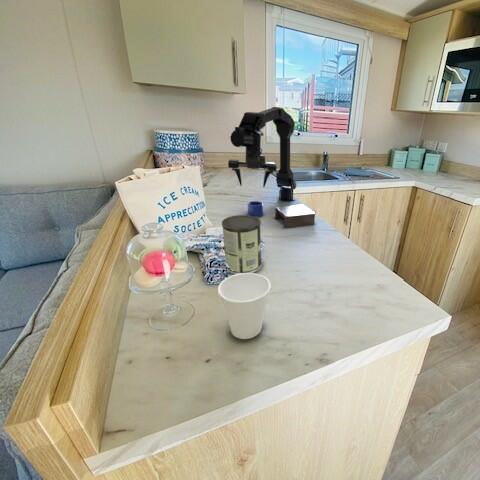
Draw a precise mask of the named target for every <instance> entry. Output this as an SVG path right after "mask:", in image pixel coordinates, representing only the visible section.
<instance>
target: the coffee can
mask: <svg viewBox="0 0 480 480" xmlns="http://www.w3.org/2000/svg"><path fill="white" fill-rule="evenodd" d="M261 224H262V221H261V219H260V218H259V217H253V216H249V215H248V214H246V215H245V214H243V215H242V214H240V215H239V214H238V215H232V216H229V217H225V218H224V219H223V220H222V221H221V226H222V236H223V248H224V259H225V260H224V261H225V264H226V263H227V264H228V266H229V267H230V269H232V270H233V271H232V270H230V269H228V268H227V269H226V271H227V272H228V273H230V274H233V275H235V274H240V273H256V272H258V271H259V270H260V269H261V268H262V243H261V241H262V239H261V238H262V237H261Z"/></svg>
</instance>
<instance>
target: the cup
mask: <svg viewBox="0 0 480 480" xmlns="http://www.w3.org/2000/svg"><path fill="white" fill-rule="evenodd" d="M271 285H272V284H271V282H270V280H269V279H268V278H267V277H266V276H264V275H262V274H259V273H256V272H254V273H240V274H233V275H230V276H227V277H226V278H224V279H223V280H222V281H221V282H220V283H219V284H218V287H217V293H218V296H219V297H220V300H221V303H222V306H223V309H224V313H225V315H226V319H227V322H228V325H229V329H230V331H231V334H232V336H233V337H235V338H237V339H240V340H249V339H252V338H254V337H257V336H258V335H259V334H260V333H261V331H262V328H263V324H264V323H263V322H264V317H265V312H266V307H267V304H268V303H267V302H268V298H269V292H270V291H271V287H272V286H271Z"/></svg>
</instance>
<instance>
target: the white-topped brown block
mask: <svg viewBox="0 0 480 480" xmlns="http://www.w3.org/2000/svg"><path fill="white" fill-rule="evenodd" d="M315 218H316V213H315V212H314V211H313V210H312V209H310V208H308V207H307V206H306V205H304V204H295V205H284V206H275V207H274V219H276V220H278V219H279V220H280V219H284V228H285V229H291V228H297V227H306V226H313V225H315V222H316V221H315V220H316V219H315Z"/></svg>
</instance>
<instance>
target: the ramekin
mask: <svg viewBox="0 0 480 480" xmlns="http://www.w3.org/2000/svg"><path fill="white" fill-rule="evenodd" d="M263 215H264V203H263V202H261V201H258V200H253V201H249V202H247V216H253V217H256V218H259V217H262V216H263Z"/></svg>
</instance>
